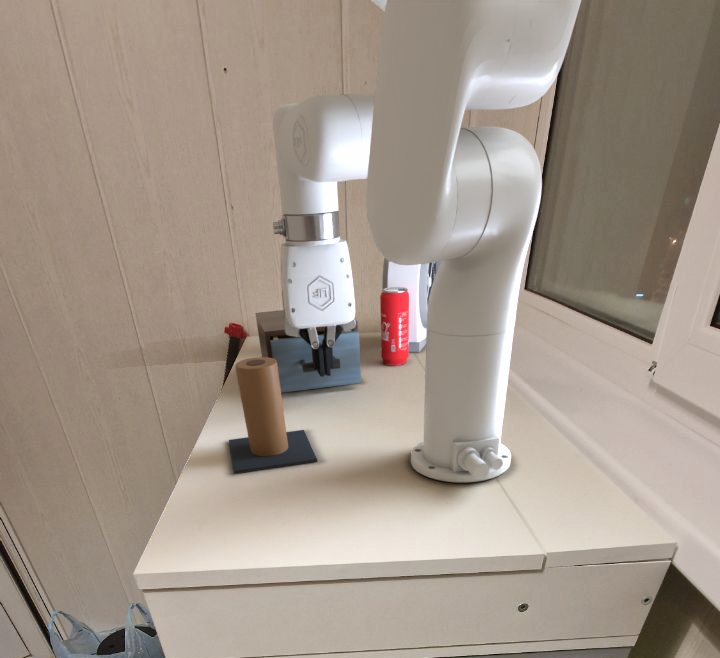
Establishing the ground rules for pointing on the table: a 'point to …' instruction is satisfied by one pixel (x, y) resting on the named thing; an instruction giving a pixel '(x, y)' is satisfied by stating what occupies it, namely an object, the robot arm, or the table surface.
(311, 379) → the drawer
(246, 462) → the mat
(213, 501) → the table surface
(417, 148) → the robot arm
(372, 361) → the table surface
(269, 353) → the cabinet
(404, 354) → the beverage can
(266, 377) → the paper roll
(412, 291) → the white and grey container
